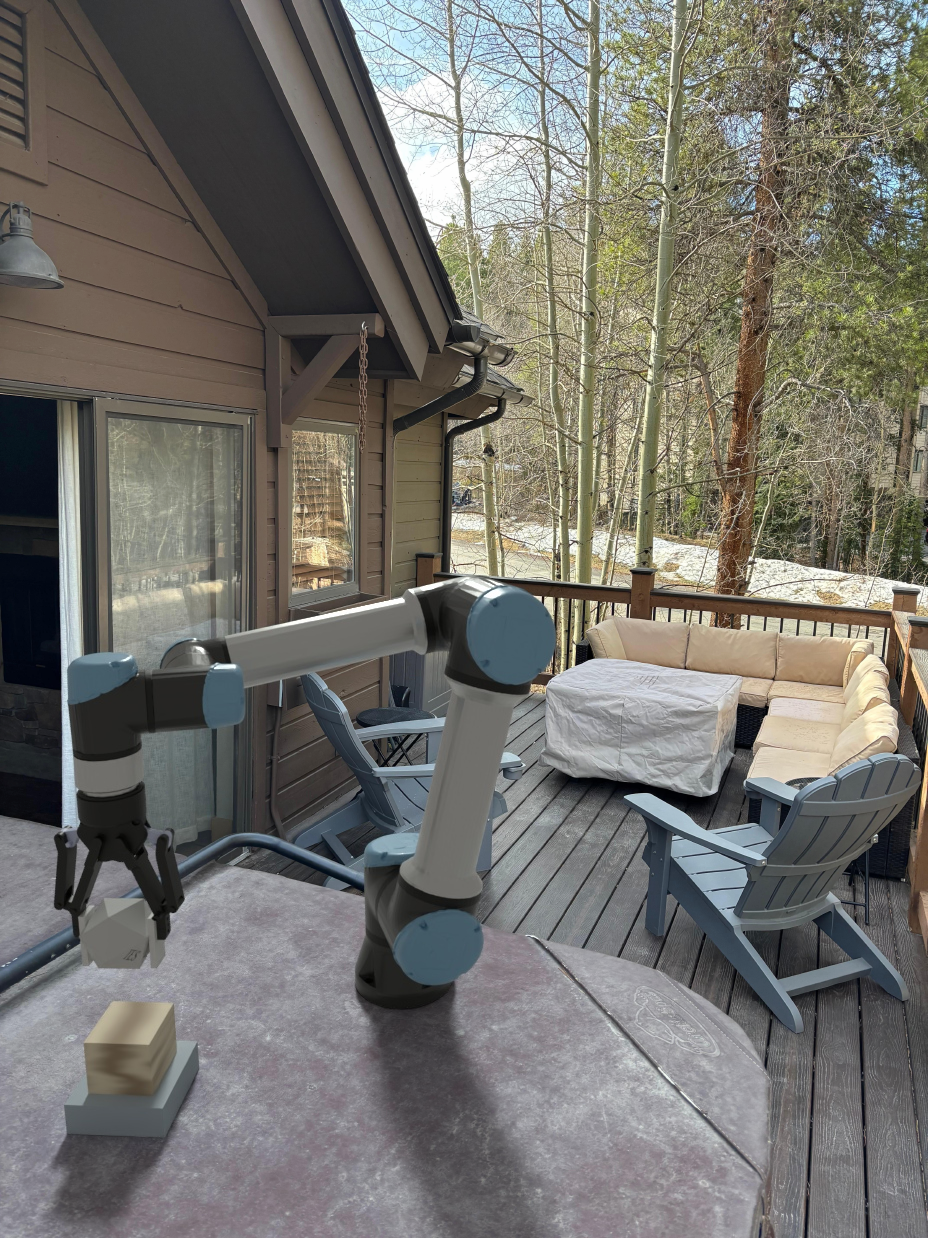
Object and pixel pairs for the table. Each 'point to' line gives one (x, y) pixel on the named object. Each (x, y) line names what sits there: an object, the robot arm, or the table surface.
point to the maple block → (130, 1048)
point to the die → (118, 933)
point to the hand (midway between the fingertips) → (124, 960)
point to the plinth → (134, 1102)
